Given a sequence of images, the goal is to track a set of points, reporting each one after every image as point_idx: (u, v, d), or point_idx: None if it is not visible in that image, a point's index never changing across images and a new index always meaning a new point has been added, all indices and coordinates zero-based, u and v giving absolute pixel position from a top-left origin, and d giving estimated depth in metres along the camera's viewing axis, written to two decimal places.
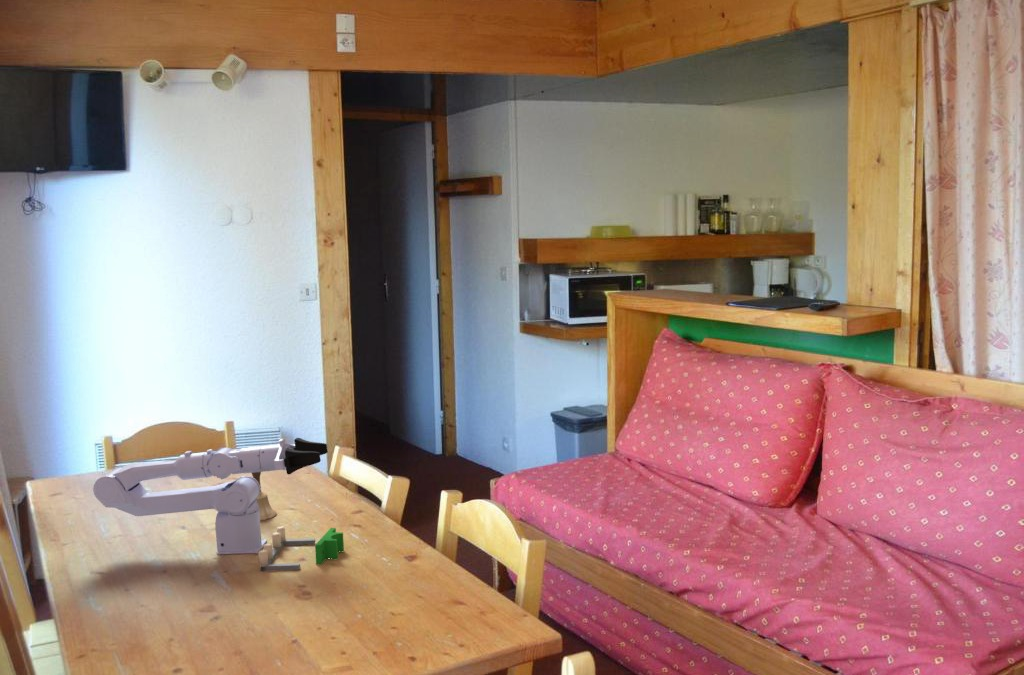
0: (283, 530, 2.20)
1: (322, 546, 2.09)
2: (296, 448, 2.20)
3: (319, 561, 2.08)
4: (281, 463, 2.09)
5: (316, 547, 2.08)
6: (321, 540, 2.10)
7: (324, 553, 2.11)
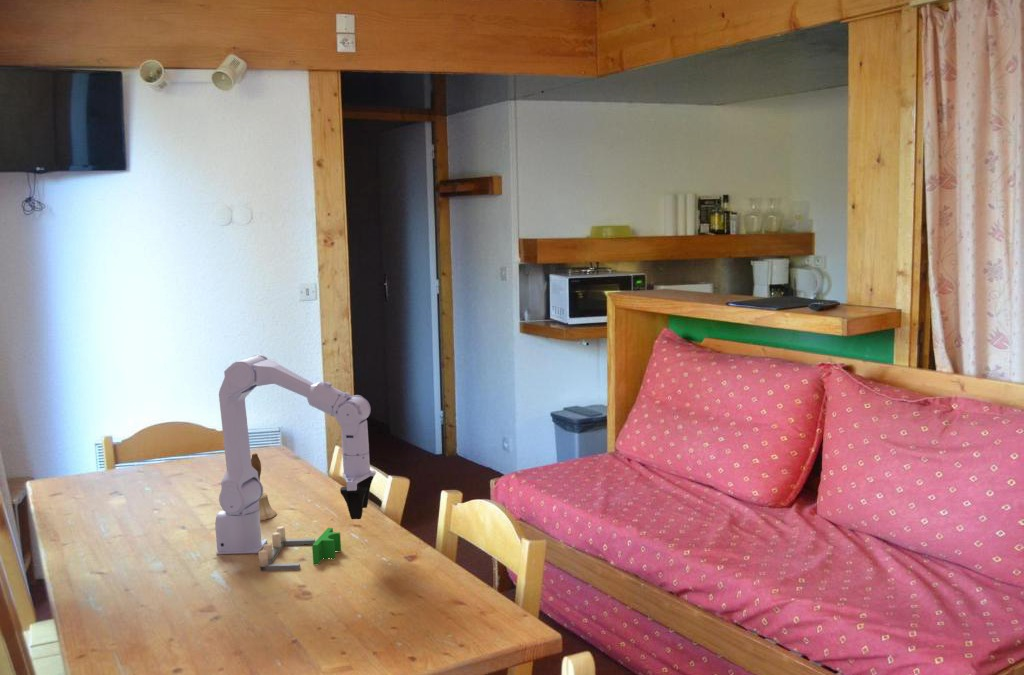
0: (283, 530, 2.20)
1: (319, 546, 2.09)
2: None
3: (316, 561, 2.08)
4: (352, 489, 2.04)
5: (313, 547, 2.08)
6: (318, 540, 2.11)
7: (322, 553, 2.11)
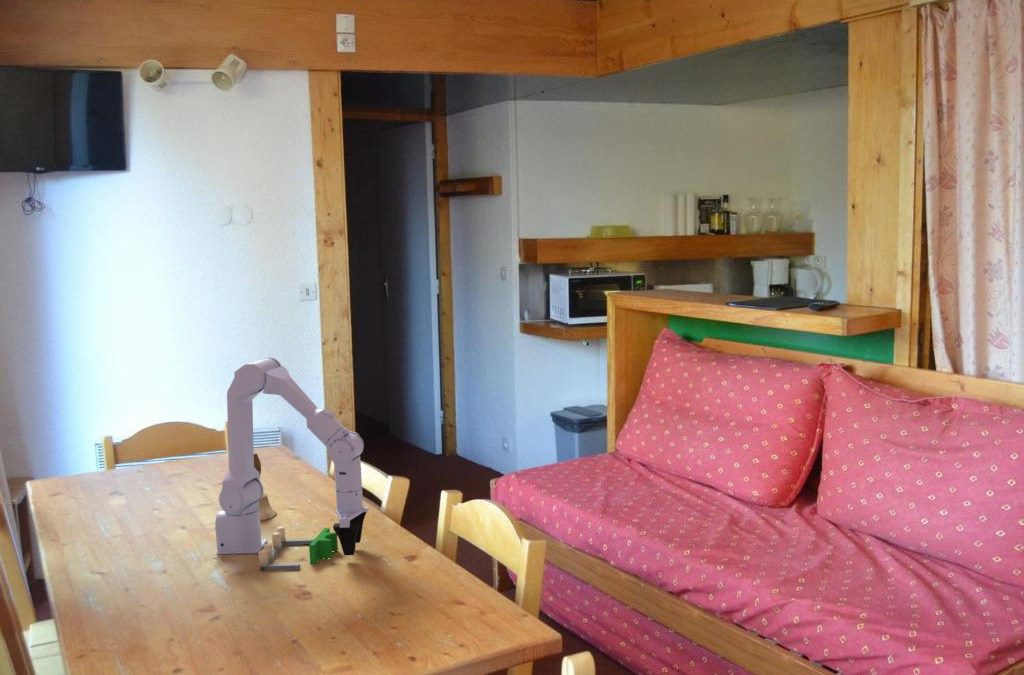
0: (283, 530, 2.20)
1: (316, 546, 2.09)
2: None
3: (313, 561, 2.08)
4: (345, 526, 2.05)
5: (310, 547, 2.08)
6: (315, 540, 2.11)
7: (318, 553, 2.11)
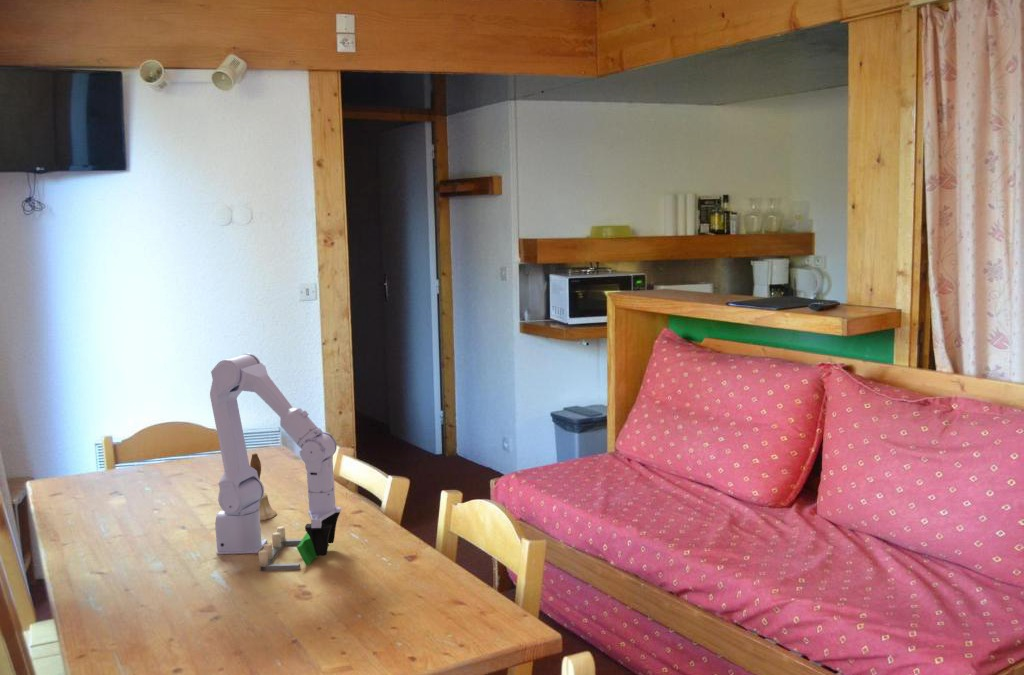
0: (283, 530, 2.20)
1: (304, 546, 2.09)
2: None
3: (307, 560, 2.08)
4: (317, 526, 2.05)
5: (299, 549, 2.08)
6: (301, 542, 2.10)
7: (310, 552, 2.10)
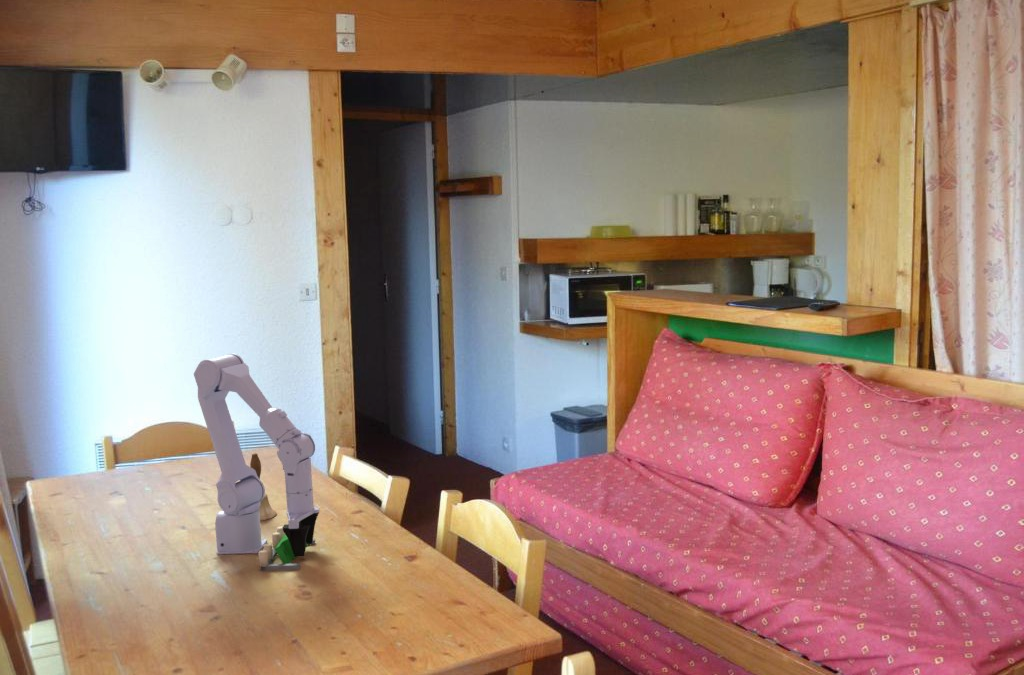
0: None
1: (282, 547, 2.09)
2: None
3: (285, 561, 2.08)
4: (294, 527, 2.05)
5: (277, 550, 2.08)
6: (279, 543, 2.10)
7: (288, 553, 2.10)
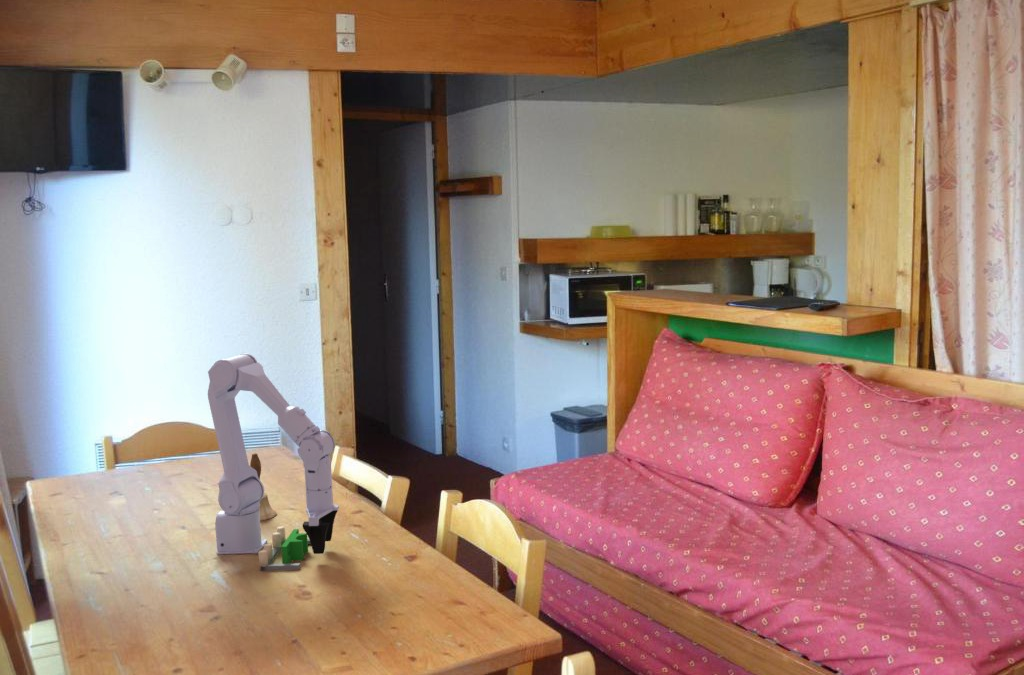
0: (283, 530, 2.20)
1: (288, 547, 2.09)
2: None
3: (285, 562, 2.08)
4: (314, 524, 2.05)
5: (282, 549, 2.08)
6: (286, 541, 2.10)
7: (290, 554, 2.11)
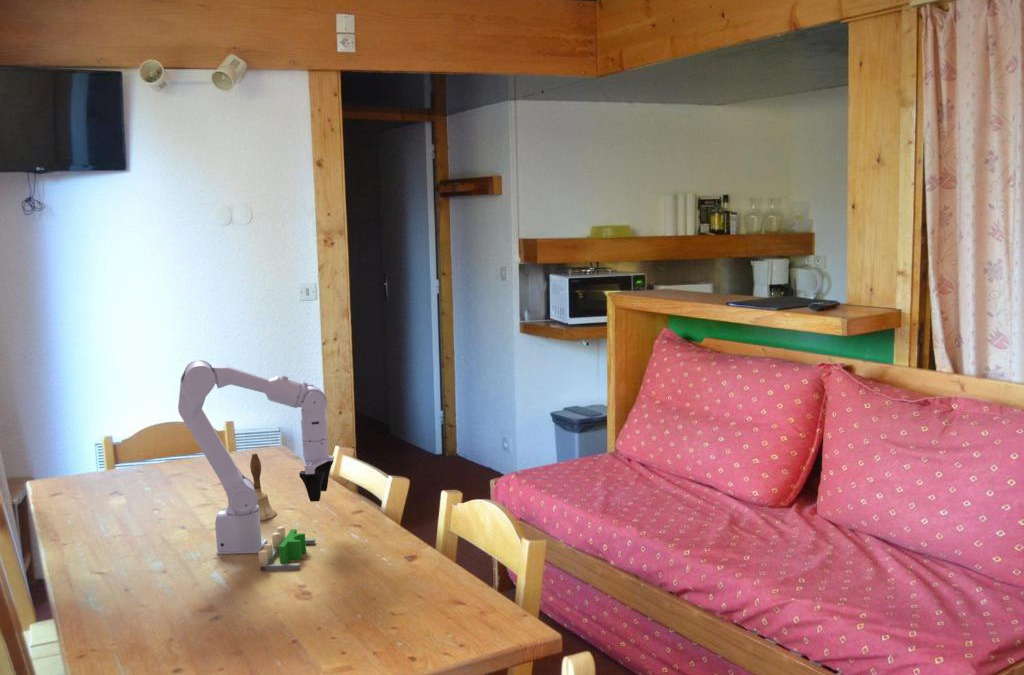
0: (283, 530, 2.20)
1: (286, 547, 2.09)
2: (323, 462, 2.27)
3: (283, 562, 2.08)
4: (310, 472, 2.16)
5: (280, 549, 2.08)
6: (284, 541, 2.10)
7: (288, 554, 2.11)
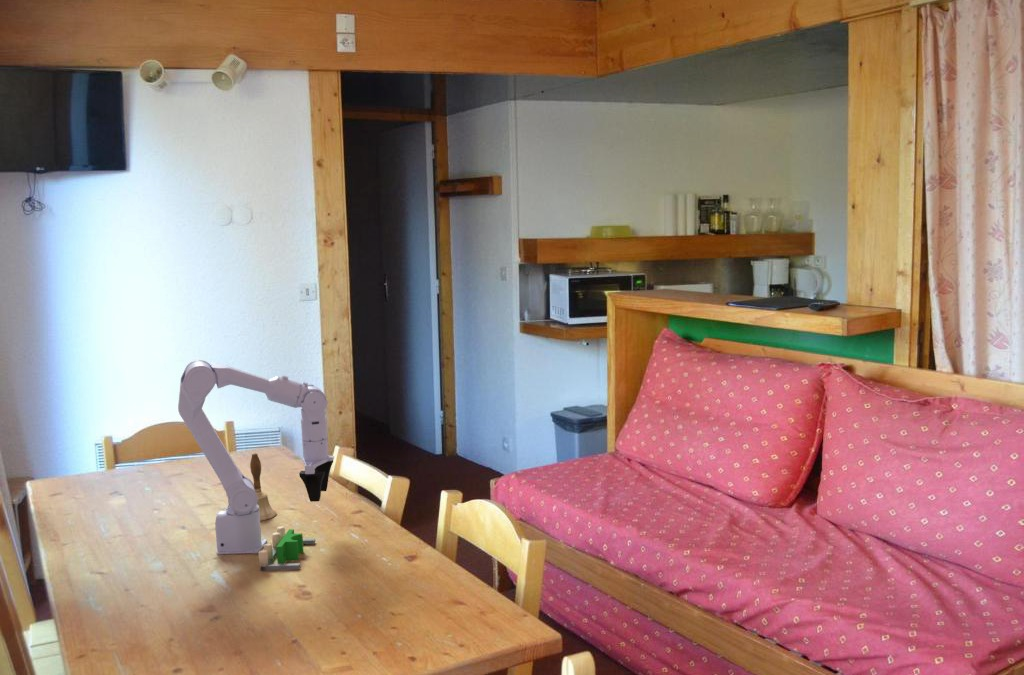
0: (283, 530, 2.20)
1: (283, 547, 2.09)
2: (323, 462, 2.27)
3: (281, 562, 2.08)
4: (310, 472, 2.16)
5: (278, 549, 2.08)
6: (282, 542, 2.10)
7: (285, 554, 2.11)
